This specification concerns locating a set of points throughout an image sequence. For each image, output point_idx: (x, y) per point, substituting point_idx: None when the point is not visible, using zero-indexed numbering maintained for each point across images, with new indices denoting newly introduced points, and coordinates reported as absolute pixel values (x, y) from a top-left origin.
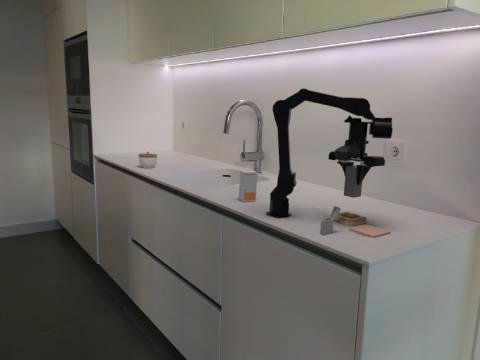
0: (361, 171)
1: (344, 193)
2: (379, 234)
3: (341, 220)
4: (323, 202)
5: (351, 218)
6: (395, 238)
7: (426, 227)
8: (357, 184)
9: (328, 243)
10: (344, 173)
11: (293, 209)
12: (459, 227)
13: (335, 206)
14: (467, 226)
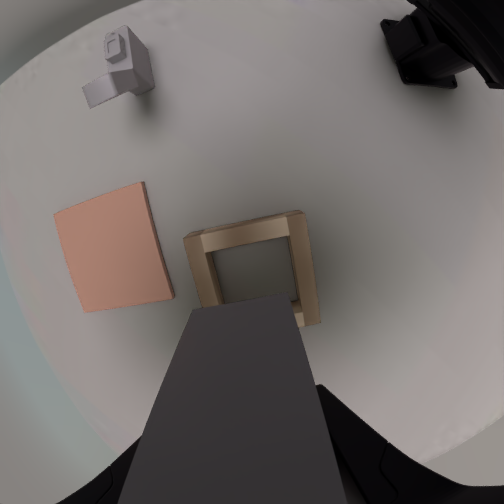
0: (66, 499)
1: (281, 300)
2: (62, 249)
3: (244, 223)
4: (479, 340)
5: None
6: (50, 283)
7: None
8: None
9: (71, 44)
10: (378, 442)
11: (472, 168)
12: None
13: (100, 77)
14: None
